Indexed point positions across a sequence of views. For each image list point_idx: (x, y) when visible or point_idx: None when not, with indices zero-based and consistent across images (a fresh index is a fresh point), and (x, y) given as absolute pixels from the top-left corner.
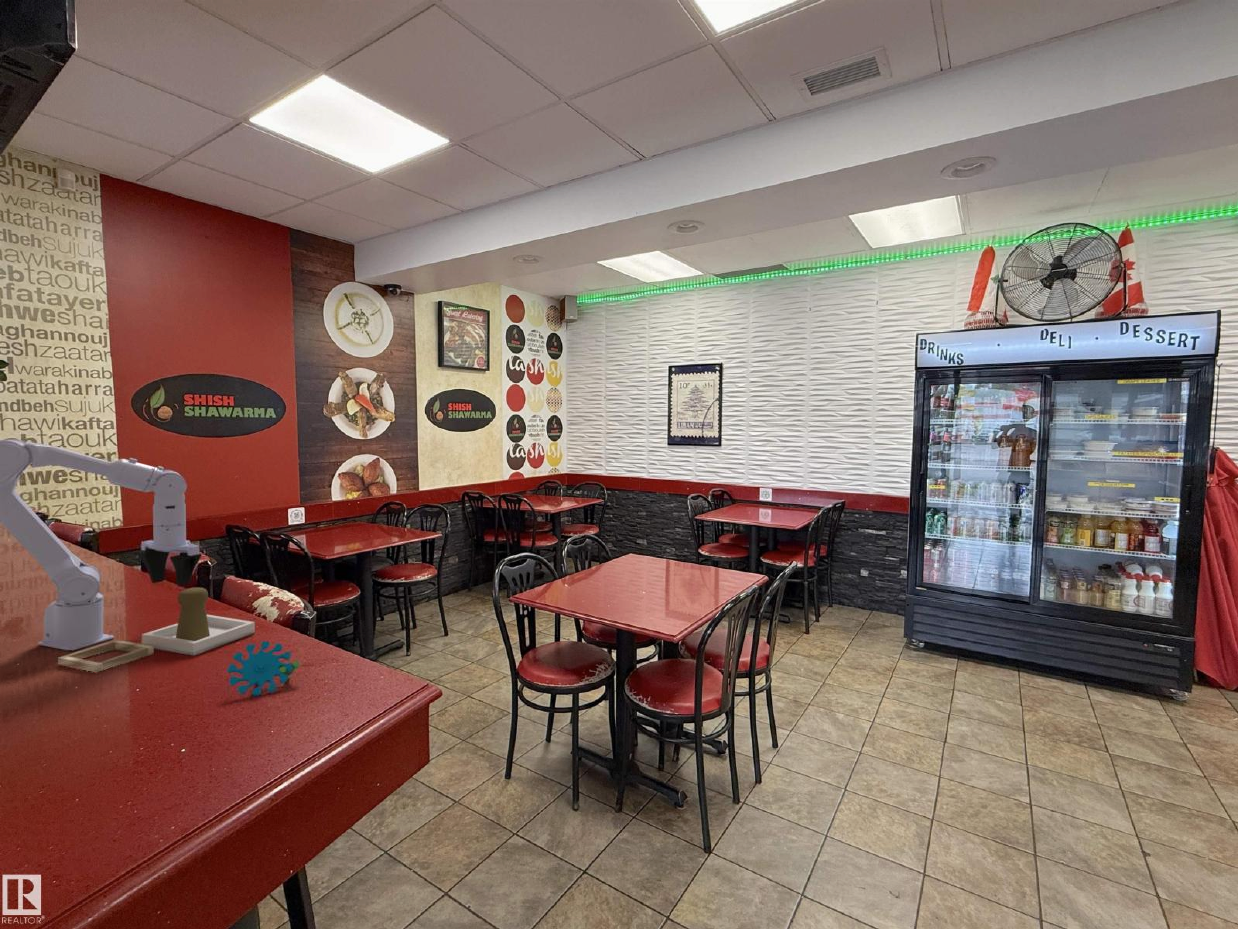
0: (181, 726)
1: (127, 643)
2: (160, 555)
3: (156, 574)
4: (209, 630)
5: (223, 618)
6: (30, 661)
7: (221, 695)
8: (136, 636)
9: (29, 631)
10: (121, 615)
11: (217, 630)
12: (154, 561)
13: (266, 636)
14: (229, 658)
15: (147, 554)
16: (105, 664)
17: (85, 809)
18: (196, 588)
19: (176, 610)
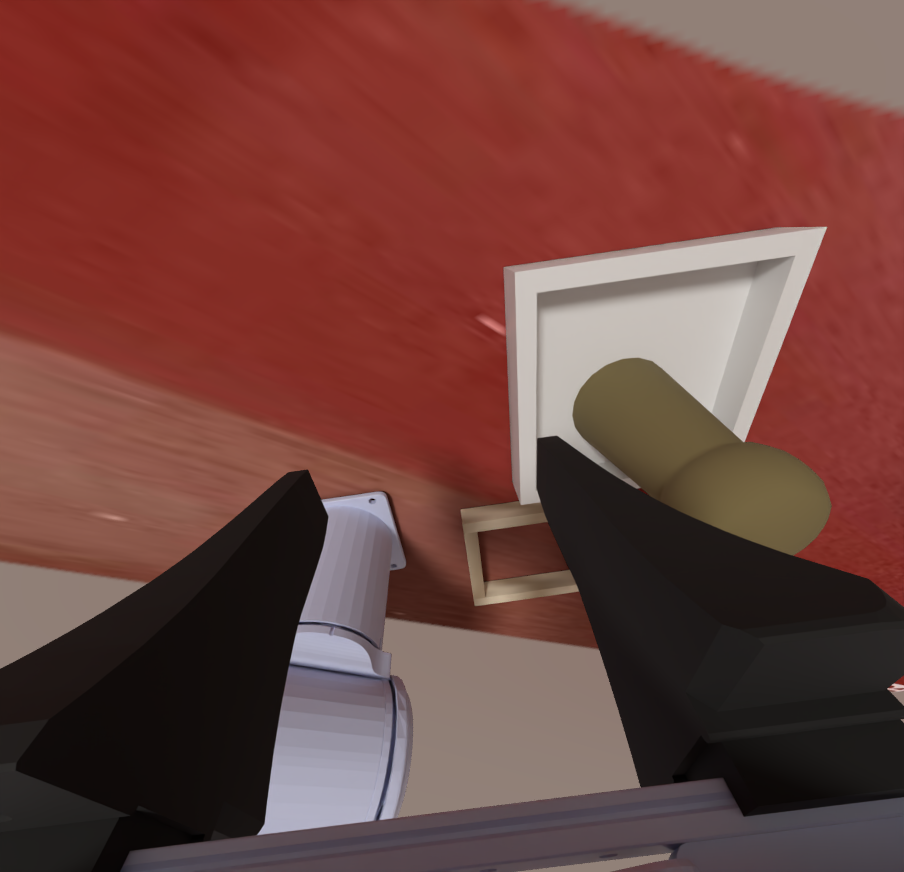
0: (880, 584)
1: (517, 523)
2: (192, 722)
3: (304, 552)
4: (605, 327)
5: (642, 270)
6: (401, 603)
7: (897, 522)
8: (412, 453)
9: (133, 558)
10: (80, 373)
11: (635, 311)
12: (256, 681)
13: (848, 229)
14: (815, 420)
15: (237, 834)
16: None
17: None
18: (793, 533)
19: (134, 189)
